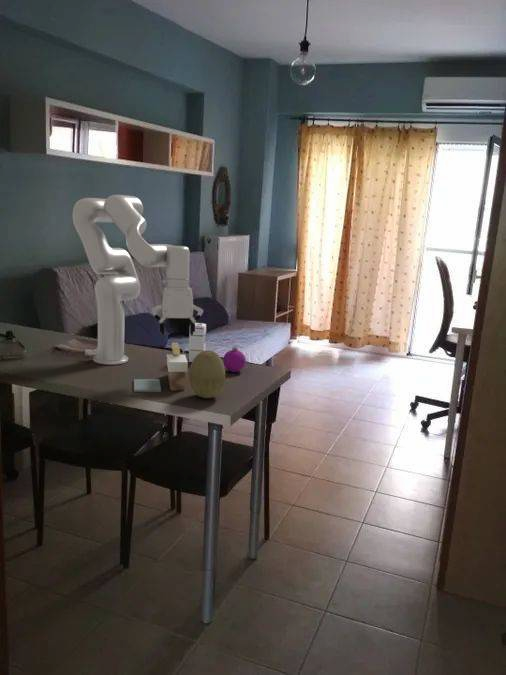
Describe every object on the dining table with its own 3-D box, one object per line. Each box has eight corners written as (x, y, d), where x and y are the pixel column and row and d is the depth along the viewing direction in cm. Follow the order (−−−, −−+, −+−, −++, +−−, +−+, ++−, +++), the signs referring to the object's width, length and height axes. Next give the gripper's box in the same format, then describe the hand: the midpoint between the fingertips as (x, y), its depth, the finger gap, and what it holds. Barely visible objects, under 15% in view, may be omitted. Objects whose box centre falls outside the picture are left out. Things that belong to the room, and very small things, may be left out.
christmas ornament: (222, 368, 219) (223, 341, 217) (244, 368, 220) (245, 342, 218) (222, 374, 211) (224, 347, 209) (245, 375, 212) (247, 347, 210)
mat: (133, 391, 185) (134, 390, 185) (133, 380, 197) (133, 379, 196) (161, 391, 187) (161, 390, 187) (159, 380, 198) (159, 379, 198)
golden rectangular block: (173, 367, 196) (173, 348, 195) (171, 360, 205) (171, 342, 203) (179, 367, 197) (179, 348, 195) (177, 360, 205) (177, 342, 204)
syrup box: (203, 363, 223) (205, 326, 220) (188, 362, 223) (189, 325, 220) (205, 360, 229) (206, 323, 226) (190, 359, 229) (191, 322, 226)
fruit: (181, 398, 181) (183, 351, 178) (197, 389, 192) (199, 344, 188) (215, 405, 177) (217, 356, 174) (230, 395, 188) (232, 349, 185)
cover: (168, 371, 188) (168, 362, 187) (166, 363, 197) (167, 354, 197) (187, 371, 189) (187, 362, 188) (184, 363, 199) (185, 354, 198)
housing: (170, 390, 189) (171, 372, 188) (167, 375, 206) (168, 358, 204) (184, 390, 190) (185, 372, 188) (180, 375, 206) (180, 358, 205)
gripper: (151, 284, 191) (151, 336, 194) (205, 285, 194) (204, 336, 198) (151, 282, 198) (150, 332, 201) (202, 282, 202) (201, 332, 205)
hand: (177, 334), depth 200 cm, fingers open, 9 cm apart
